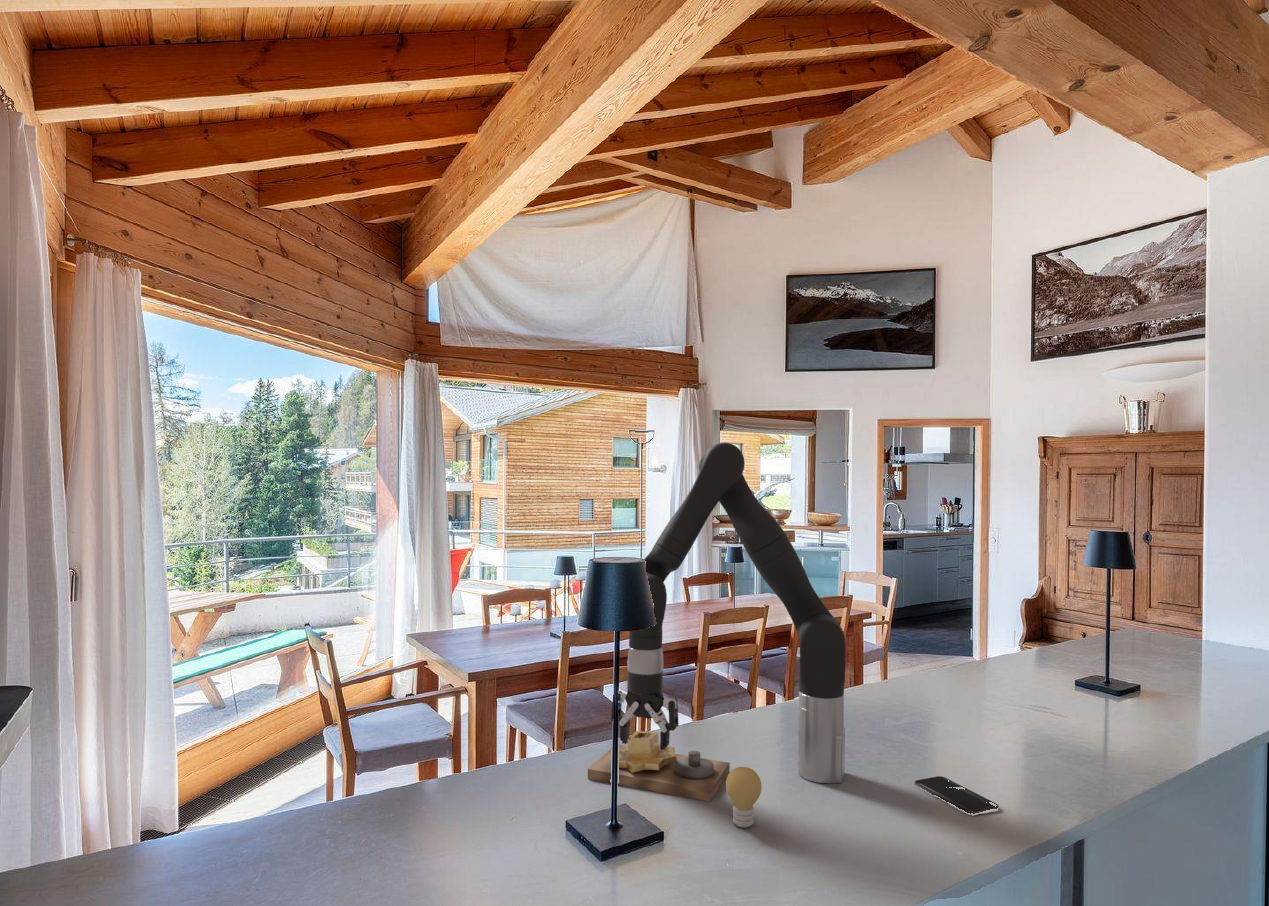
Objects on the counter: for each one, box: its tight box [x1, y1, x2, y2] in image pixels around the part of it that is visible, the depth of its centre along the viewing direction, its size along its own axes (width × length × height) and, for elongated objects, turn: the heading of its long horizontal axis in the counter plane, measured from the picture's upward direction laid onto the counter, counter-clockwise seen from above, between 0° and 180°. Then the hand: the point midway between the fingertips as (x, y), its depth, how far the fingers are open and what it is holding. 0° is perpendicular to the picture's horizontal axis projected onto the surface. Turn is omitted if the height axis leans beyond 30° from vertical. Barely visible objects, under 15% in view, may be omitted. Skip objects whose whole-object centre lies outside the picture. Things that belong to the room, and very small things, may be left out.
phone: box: [914, 775, 1000, 814], centre depth 144 cm, size 8×1×15 cm
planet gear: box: [619, 730, 677, 773], centre depth 153 cm, size 14×14×5 cm
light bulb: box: [725, 766, 762, 829], centre depth 131 cm, size 6×6×10 cm
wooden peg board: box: [587, 737, 731, 802], centre depth 152 cm, size 26×15×7 cm, turn 68°
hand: (644, 745), depth 153 cm, fingers open, 8 cm apart
